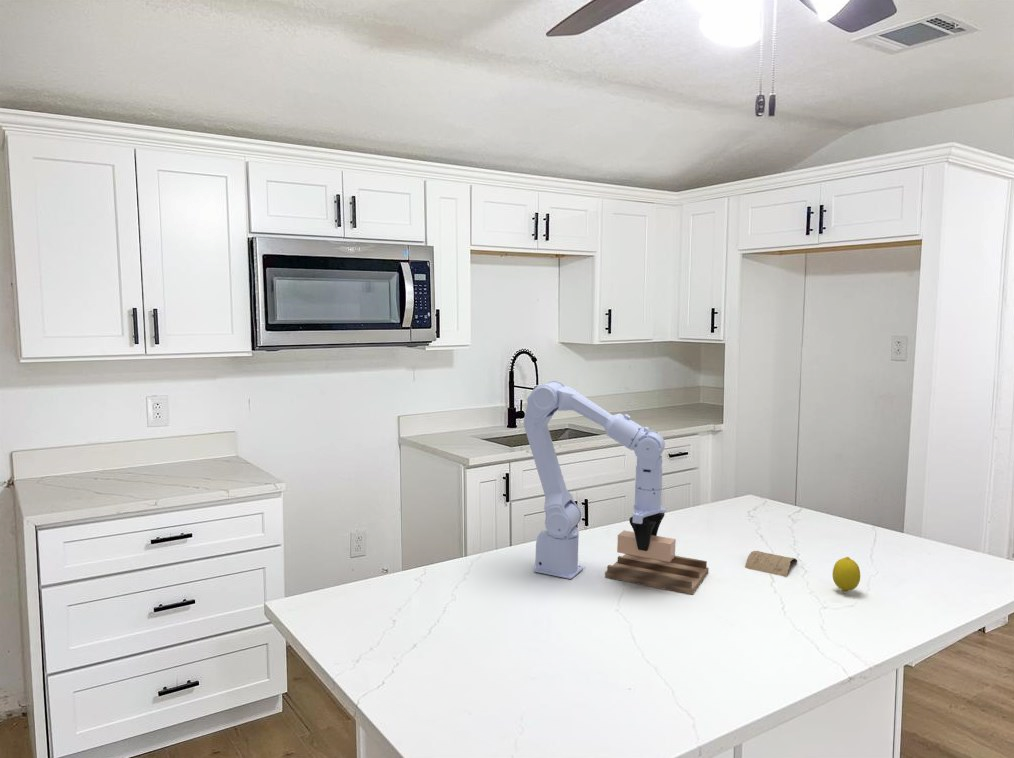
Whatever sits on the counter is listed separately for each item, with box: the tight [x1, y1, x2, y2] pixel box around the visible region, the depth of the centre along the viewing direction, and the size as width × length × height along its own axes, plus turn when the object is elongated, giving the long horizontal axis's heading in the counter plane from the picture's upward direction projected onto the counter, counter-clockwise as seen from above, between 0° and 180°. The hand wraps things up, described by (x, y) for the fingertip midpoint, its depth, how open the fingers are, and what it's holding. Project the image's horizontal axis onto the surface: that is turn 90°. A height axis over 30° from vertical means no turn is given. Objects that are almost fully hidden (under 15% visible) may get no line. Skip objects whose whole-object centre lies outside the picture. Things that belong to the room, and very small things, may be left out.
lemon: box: [832, 556, 861, 593], centre depth 164 cm, size 6×6×8 cm
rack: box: [604, 554, 710, 595], centre depth 173 cm, size 20×15×3 cm
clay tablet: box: [744, 550, 798, 578], centre depth 181 cm, size 14×10×3 cm
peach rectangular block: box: [616, 530, 677, 562], centre depth 167 cm, size 12×4×4 cm, turn 62°
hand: (646, 547), depth 167 cm, fingers closed on peach rectangular block, 4 cm apart
